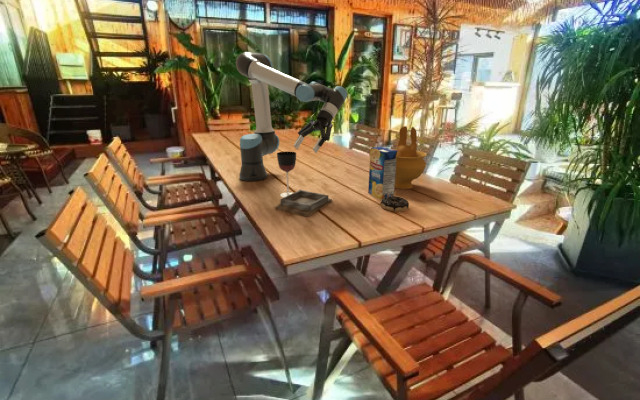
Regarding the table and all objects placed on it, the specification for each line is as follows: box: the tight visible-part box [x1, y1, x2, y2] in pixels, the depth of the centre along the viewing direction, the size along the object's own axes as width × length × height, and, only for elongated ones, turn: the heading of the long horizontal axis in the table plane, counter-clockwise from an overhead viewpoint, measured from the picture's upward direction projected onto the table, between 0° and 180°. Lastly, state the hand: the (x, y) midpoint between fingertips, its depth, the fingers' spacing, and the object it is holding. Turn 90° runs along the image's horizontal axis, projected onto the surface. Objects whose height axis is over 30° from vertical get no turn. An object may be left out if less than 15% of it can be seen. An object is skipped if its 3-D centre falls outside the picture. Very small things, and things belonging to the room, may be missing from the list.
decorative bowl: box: [393, 125, 427, 190], centre depth 166 cm, size 21×21×30 cm
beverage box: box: [367, 146, 397, 201], centre depth 153 cm, size 7×11×22 cm, turn 26°
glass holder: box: [275, 189, 333, 218], centre depth 143 cm, size 16×20×4 cm
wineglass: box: [276, 151, 297, 198], centre depth 154 cm, size 8×9×20 cm
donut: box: [379, 195, 410, 213], centre depth 141 cm, size 11×12×4 cm
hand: (304, 149), depth 157 cm, fingers open, 13 cm apart
